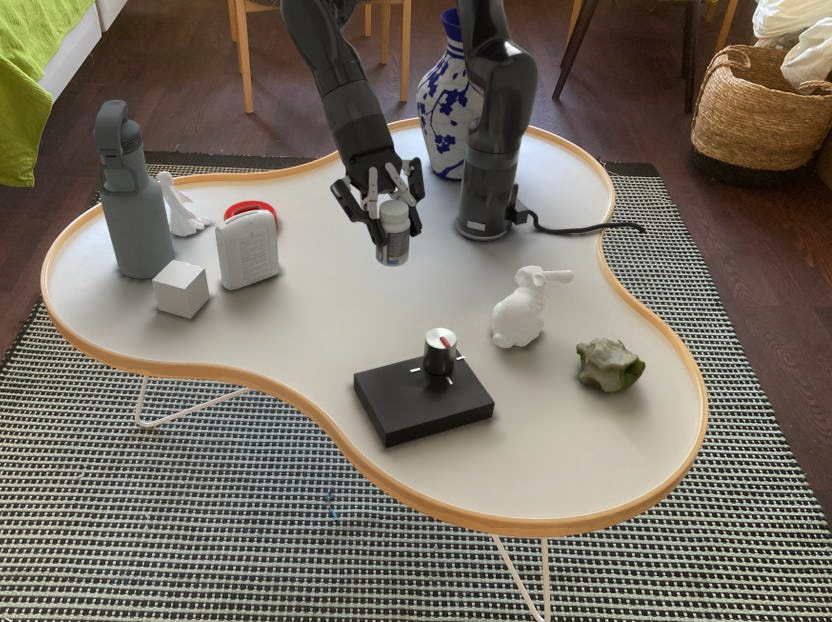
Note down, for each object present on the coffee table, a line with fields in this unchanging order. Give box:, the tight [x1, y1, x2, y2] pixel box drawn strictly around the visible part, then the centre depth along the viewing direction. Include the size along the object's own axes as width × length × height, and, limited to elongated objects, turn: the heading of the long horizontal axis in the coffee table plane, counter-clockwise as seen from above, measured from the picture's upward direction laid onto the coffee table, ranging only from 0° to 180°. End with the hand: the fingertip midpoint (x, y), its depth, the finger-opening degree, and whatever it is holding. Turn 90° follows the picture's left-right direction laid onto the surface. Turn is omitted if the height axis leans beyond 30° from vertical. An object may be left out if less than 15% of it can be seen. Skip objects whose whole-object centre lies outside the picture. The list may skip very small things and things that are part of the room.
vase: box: [415, 6, 508, 182], centre depth 142 cm, size 19×19×30 cm
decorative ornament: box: [223, 200, 278, 232], centre depth 135 cm, size 10×10×3 cm
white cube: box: [151, 259, 211, 320], centre depth 118 cm, size 6×6×6 cm
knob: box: [422, 327, 458, 375], centre depth 103 cm, size 4×4×5 cm
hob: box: [353, 348, 496, 449], centre depth 103 cm, size 16×14×3 cm
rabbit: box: [491, 265, 575, 349], centre depth 110 cm, size 12×9×12 cm
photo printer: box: [214, 210, 280, 291], centre depth 121 cm, size 10×4×12 cm, turn 123°
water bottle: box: [92, 99, 176, 280], centre depth 118 cm, size 10×10×28 cm
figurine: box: [155, 170, 210, 237], centre depth 132 cm, size 8×8×12 cm
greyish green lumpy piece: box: [575, 337, 646, 393], centre depth 105 cm, size 9×9×8 cm
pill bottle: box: [375, 199, 411, 268], centre depth 102 cm, size 5×5×8 cm
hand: (400, 240), depth 101 cm, fingers closed on pill bottle, 4 cm apart
